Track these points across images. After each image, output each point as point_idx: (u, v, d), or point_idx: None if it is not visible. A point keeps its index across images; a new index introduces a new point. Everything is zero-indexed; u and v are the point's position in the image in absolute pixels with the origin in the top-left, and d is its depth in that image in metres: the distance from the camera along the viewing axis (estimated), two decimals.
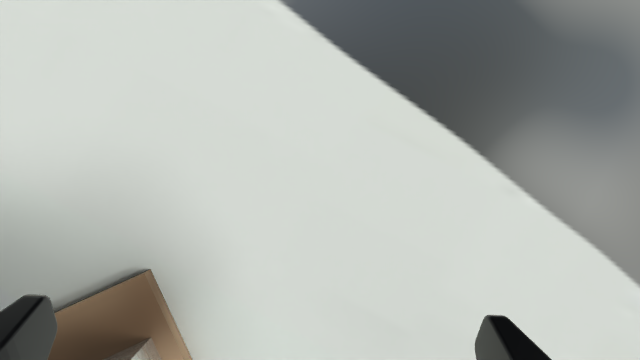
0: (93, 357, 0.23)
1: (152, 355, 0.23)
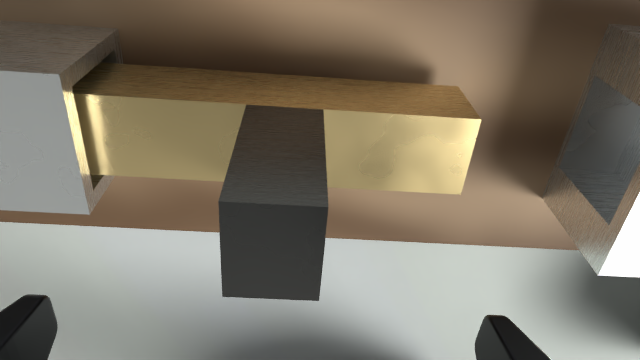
0: (639, 18, 0.18)
1: None
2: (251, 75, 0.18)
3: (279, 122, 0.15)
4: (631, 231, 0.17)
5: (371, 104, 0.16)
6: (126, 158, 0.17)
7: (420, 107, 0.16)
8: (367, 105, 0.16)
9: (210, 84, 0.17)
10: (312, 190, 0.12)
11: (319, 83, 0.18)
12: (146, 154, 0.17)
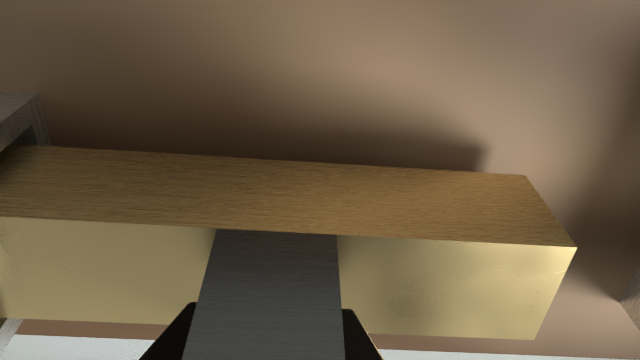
0: None
1: None
2: (230, 163, 0.12)
3: (267, 270, 0.09)
4: None
5: (408, 219, 0.11)
6: (39, 297, 0.11)
7: (480, 225, 0.11)
8: (402, 222, 0.11)
9: (167, 183, 0.11)
10: None
11: (328, 176, 0.12)
12: (68, 292, 0.11)
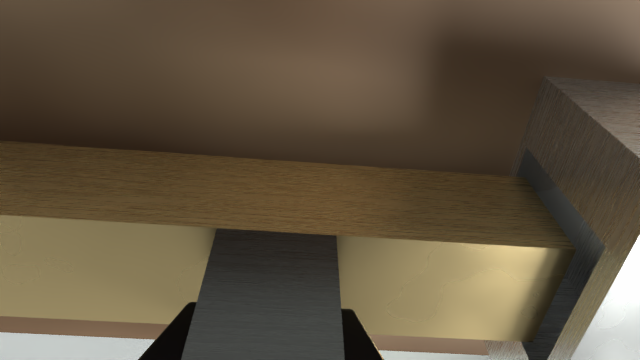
0: (588, 68, 0.12)
1: None
2: (230, 163, 0.12)
3: (267, 270, 0.09)
4: None
5: (408, 220, 0.11)
6: (38, 295, 0.11)
7: (480, 226, 0.11)
8: (402, 224, 0.11)
9: (167, 183, 0.11)
10: None
11: (329, 177, 0.12)
12: (68, 291, 0.11)
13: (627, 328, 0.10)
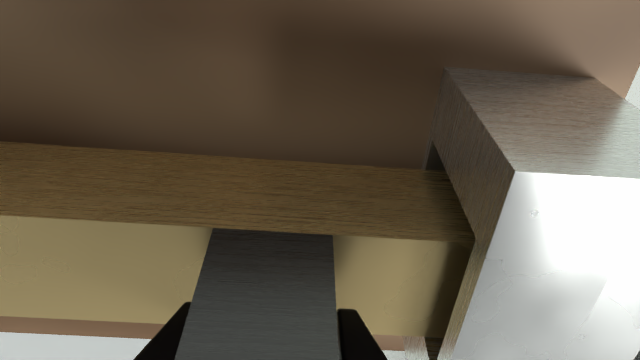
0: (488, 58, 0.12)
1: None
2: (228, 163, 0.12)
3: (262, 270, 0.09)
4: None
5: (405, 220, 0.11)
6: (36, 295, 0.11)
7: None
8: (399, 222, 0.11)
9: (164, 183, 0.11)
10: None
11: (326, 177, 0.12)
12: (65, 291, 0.11)
13: (504, 321, 0.10)
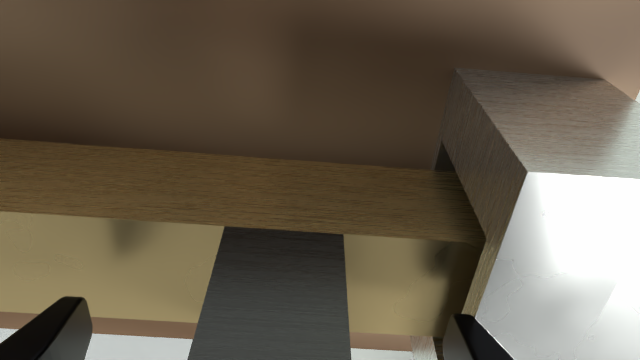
0: (498, 59, 0.12)
1: None
2: (238, 162, 0.12)
3: (274, 268, 0.09)
4: None
5: (415, 220, 0.11)
6: (48, 292, 0.11)
7: None
8: (409, 223, 0.11)
9: (176, 181, 0.11)
10: None
11: (336, 176, 0.12)
12: (77, 288, 0.11)
13: (514, 322, 0.10)
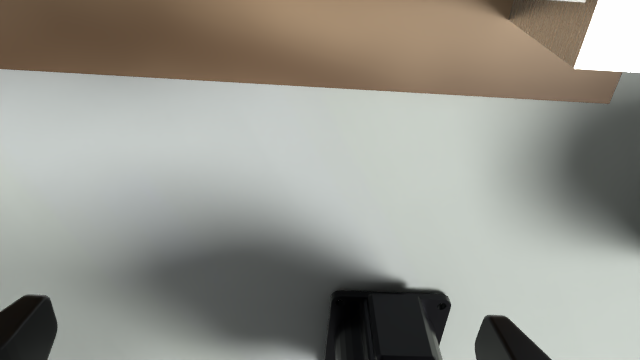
0: None
1: None
2: None
3: None
4: None
5: None
6: None
7: None
8: None
9: None
10: None
11: None
12: None
13: None
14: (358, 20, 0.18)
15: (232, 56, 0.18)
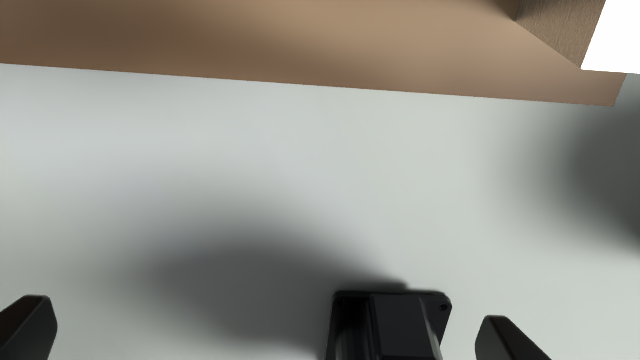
0: None
1: None
2: None
3: None
4: None
5: None
6: None
7: None
8: None
9: None
10: None
11: None
12: None
13: None
14: (365, 19, 0.18)
15: (239, 54, 0.18)
